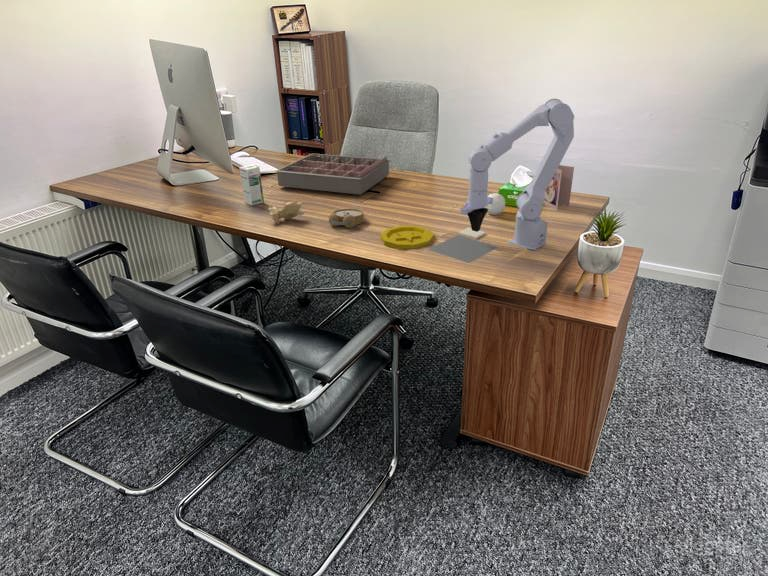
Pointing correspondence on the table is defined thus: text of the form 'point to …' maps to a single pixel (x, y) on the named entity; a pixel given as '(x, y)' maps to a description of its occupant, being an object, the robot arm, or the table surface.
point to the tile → (471, 233)
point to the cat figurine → (286, 211)
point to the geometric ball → (496, 204)
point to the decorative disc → (406, 237)
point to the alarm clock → (346, 217)
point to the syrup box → (251, 184)
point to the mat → (463, 248)
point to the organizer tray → (334, 173)
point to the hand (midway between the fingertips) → (475, 230)
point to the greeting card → (560, 187)
